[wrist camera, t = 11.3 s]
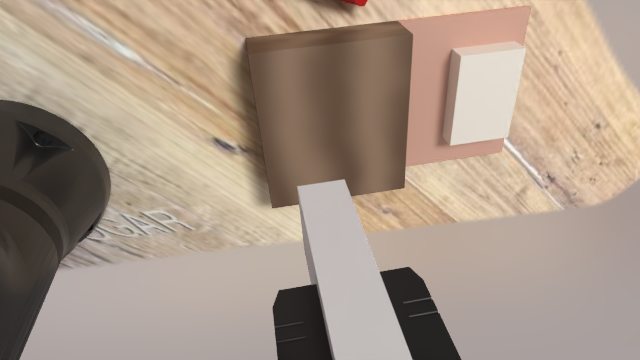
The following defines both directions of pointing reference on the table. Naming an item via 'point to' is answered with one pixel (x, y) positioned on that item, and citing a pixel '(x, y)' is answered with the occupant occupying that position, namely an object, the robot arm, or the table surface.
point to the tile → (482, 92)
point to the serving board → (333, 107)
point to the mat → (433, 73)
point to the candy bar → (356, 2)
